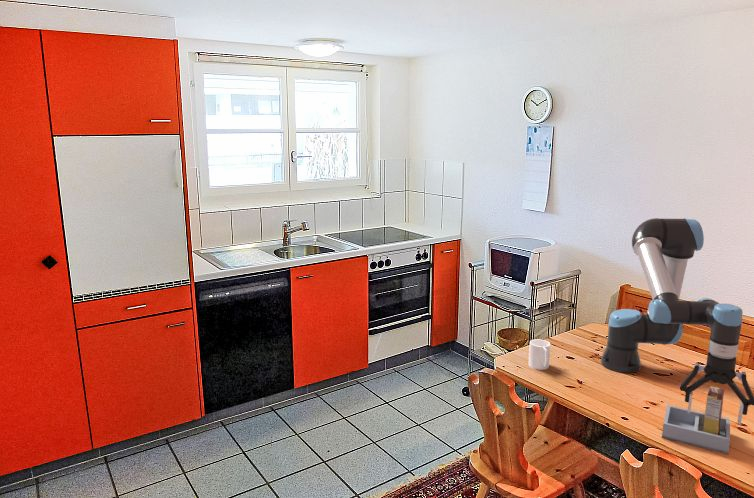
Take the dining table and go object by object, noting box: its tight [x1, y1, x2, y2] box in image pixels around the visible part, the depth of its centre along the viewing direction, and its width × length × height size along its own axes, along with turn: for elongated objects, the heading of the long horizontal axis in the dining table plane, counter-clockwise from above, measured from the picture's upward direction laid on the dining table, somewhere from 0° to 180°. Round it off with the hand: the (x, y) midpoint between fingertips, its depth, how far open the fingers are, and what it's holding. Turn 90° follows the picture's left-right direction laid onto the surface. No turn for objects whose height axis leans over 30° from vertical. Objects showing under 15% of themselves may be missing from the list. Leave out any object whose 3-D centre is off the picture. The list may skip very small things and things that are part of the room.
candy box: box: [703, 385, 725, 435], centre depth 174 cm, size 9×4×15 cm, turn 143°
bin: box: [661, 404, 731, 455], centre depth 177 cm, size 18×14×5 cm
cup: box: [528, 338, 551, 371], centre depth 227 cm, size 8×12×10 cm
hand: (713, 417), depth 174 cm, fingers open, 13 cm apart
